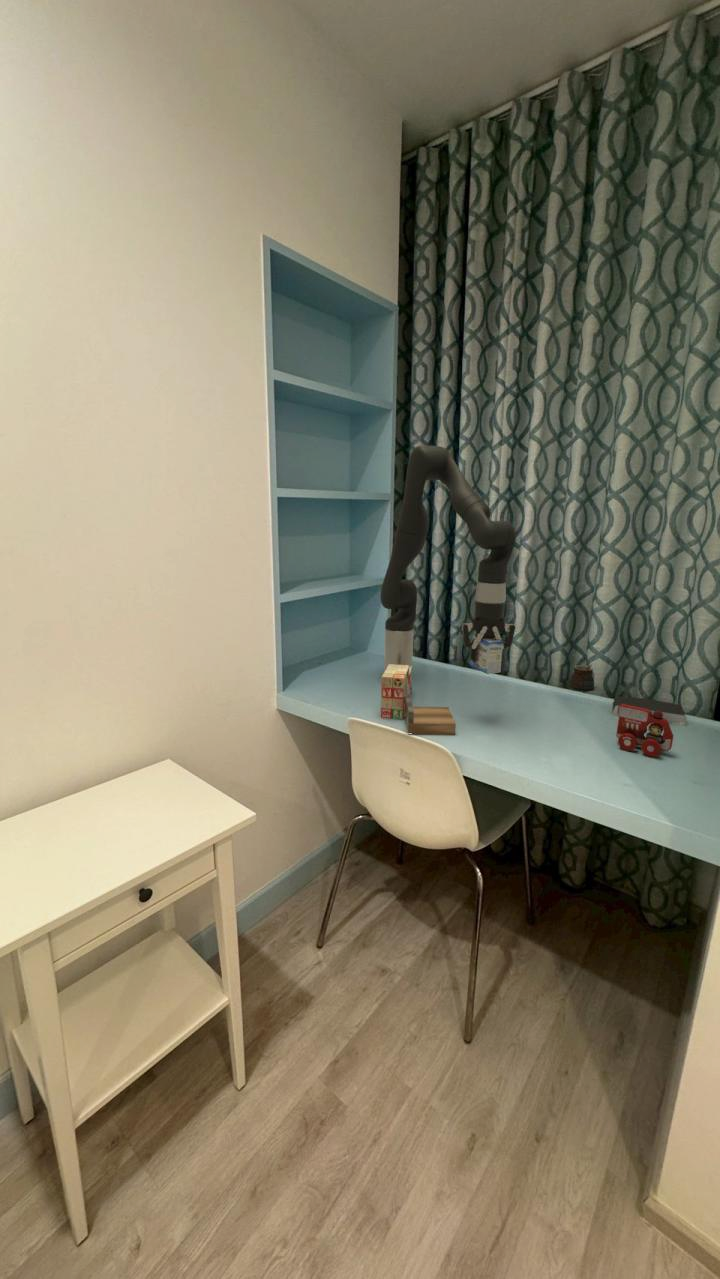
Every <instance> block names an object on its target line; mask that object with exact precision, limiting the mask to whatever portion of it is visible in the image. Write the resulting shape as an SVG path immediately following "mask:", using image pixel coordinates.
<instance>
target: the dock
mask: <svg viewBox="0 0 720 1279" xmlns="http://www.w3.org/2000/svg"><path fill="white" fill-rule="evenodd" d="M404 720H405V725H406V730H407V734H408V733H412V734H411V735H415V734H416V735H415V736H417V735H418V736H419V735H423V736H424V735H427V736H428V735H430V736H431V735H433V736H435V735H436V736H441V735H442V736H455V735H456V724H457V723H456V722H455V719H454V717H453V714H452V712H451V710H450V708H449V707H448V706H447V707H446V706H441V707H440V706H413V705H412V700H411V697H408V696H405V716H404Z"/></svg>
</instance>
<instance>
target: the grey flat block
mask: <svg viewBox="0 0 720 1279" xmlns="http://www.w3.org/2000/svg"><path fill="white" fill-rule="evenodd" d="M613 701H614V702H613ZM613 701H612V711H611V715H613V716H615V717H619V716H618V714H617V712H618V707H619V705H620V704H626V705H630V706H635V707H640V708H645V709H649V710H650V711H651V712H652V715H653V713H654V712H655V711H657V710H659V711H661V712H662V713H663V717H662V718H665V719H666V720H667V721H668V723H669V726H680V727H687V719H686V716H685V715H686V714H685V713H684V710H683V706H682V705H681V704H676V703H672V702H666V701H662V700H656V699H649V698H642V697H641V698H640V697H632V696H631V697H630V696H629V697H628V696H615V698H614V699H613Z"/></svg>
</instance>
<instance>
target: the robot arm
mask: <svg viewBox="0 0 720 1279" xmlns="http://www.w3.org/2000/svg"><path fill="white" fill-rule="evenodd" d="M457 464H458V463H456V461H455V459H454V458H453V456H452V455H451V453H450V452H449V451H448V449H446V448H445V447H443V446H438V445H418V446H416V447H414V448H413V449H412V451H411V453H410V455H409V459H408V462H407V468H406V475H405V476H406V477H405V484H404V485H405V486H404V493H403V498H402V503H401V504H402V505H401V509H400V513H399V518H398V523H397V526H396V530H395V536H394V540H393V546H392V550H391V555H390V559H389V563H388V566H387V569H386V572H385V575H384V578H383V581H382V584H381V585H382V586H381V588H380V589H381V590H380V603H381V605H382V607H383V608H384V609H387V610H397V609H398V611H397V612H396V613H395V614H394V615H392V616H390V617H389V618H387V619H386V620H385V625H384V626H385V627H384V669H383V670H384V672H385V670H386V669H387V667H388V665H389V664H394V665H409V667H412V668H413V653H414V652H413V650H414V647H413V646H414V625H415V621H416V615H417V614H416V613H417V603H418V590H417V585H416V584H415V581H413V580H412V579H402V578H403V576H404V573H405V572H406V570H407V569H408V567H409V566H410V565H411V564H412V562H413V561H414V560H415V559H416V558H417V557H418V556H419V554H420V553H421V552H422V550H423V549H424V546H425V543H426V540H427V535H428V531H429V520H428V515H427V513H426V509H425V506H424V502H423V501H424V500H423V499H424V498H423V497H424V496H423V495H424V491H425V486H426V482H427V481H439V482H441V483H442V484H443V485H444V486H446V488H447V489H448V491H449V494H450V502H451V505H452V508H453V510H454V511H455V513H456V514H457V515H458V516H459V518H461V520H463V522H464V523H465V524H466V526H467V529H468V531H469V533H470V535H471V537H472V540H473V541H474V543H475V544H476V545H477V546H478V547H479V548H481V549H483V550H486V551H487V550H490V552H489V555H488V556H487V557H486V558H484V559H481V560H480V561H479V564H478V571H477V572H478V573H477V584H476V587H475V588H476V589H475V600H474V601H475V602H474V614H473V615H474V616H473V621H471V622H467V623H465V622H462V623H461V631H462V632H461V633H462V641H463V645H464V646H465V647H467V648H469V659H470V661H471V660H472V662H476V654H477V649H476V647H477V645H478V643H479V642H480V641H481V639H482V638H495V639H496V640H500V641H503V640H502V638H501V635H500V633H501V632H502V631H503V630H505V636H504V637H505V638H504V641H503V649H502V660H501V662H502V661H503V656H504V649H507V648H510V647H511V646H512V643H513V639H514V635H515V631H516V626H515V625H514V624H513V623H505V619H504V618H505V609H506V608H505V607H506V600H507V594H506V593H507V587H506V586H507V585H506V584H507V583H506V581H507V568H508V565H509V561H510V559H511V557H512V555H513V554H512V553H513V551H514V547H515V543H516V530H515V527H514V525H513V524H512V523H511V522H509V521H507V520H490V518H491V515H492V512H491V509H490V507H489V505H488V504H487V503H486V502H485V500H483V499H482V498H481V496H479V494H478V493H477V492H476V491H475V490H474V488H473V487H472V486H471V484H470V483H469V482H468V480H467V479H466V478H465V475H464V474H463V473H462V470H461V469H460V468H459V466H458V465H457ZM472 628H473V629H474V631H475V633H474V635H472V638H473V639H471V641H470V636H469V632H471V630H472ZM384 672H383V673H384Z"/></svg>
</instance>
